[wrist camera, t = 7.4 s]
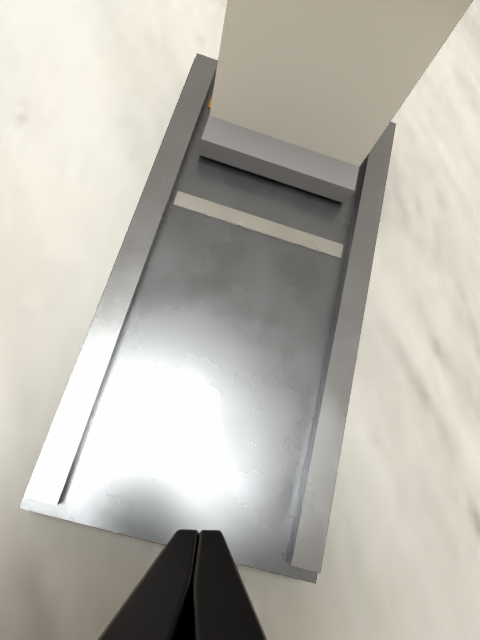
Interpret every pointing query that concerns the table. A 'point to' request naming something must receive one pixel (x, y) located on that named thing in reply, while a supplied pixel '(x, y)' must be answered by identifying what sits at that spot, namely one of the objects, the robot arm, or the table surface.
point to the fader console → (219, 357)
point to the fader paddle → (317, 83)
